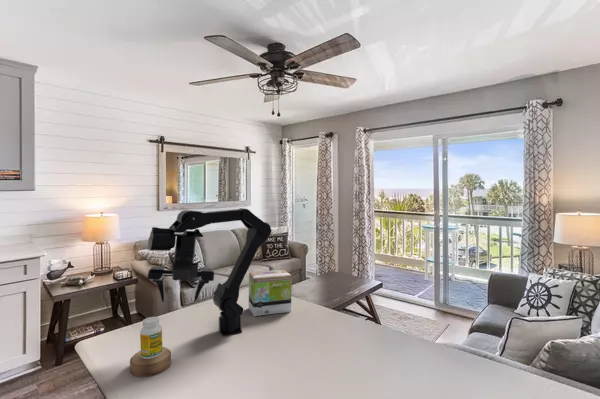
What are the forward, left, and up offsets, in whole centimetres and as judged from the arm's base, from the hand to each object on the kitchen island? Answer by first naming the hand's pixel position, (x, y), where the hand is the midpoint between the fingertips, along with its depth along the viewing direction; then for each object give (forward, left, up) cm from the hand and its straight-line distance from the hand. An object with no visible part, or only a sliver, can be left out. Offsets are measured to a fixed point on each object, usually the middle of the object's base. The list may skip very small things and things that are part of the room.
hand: (179, 301), depth 97 cm
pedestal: (+8, +10, -13) cm, 18 cm away
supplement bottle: (+8, +10, -10) cm, 16 cm away
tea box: (-34, -15, -13) cm, 40 cm away
